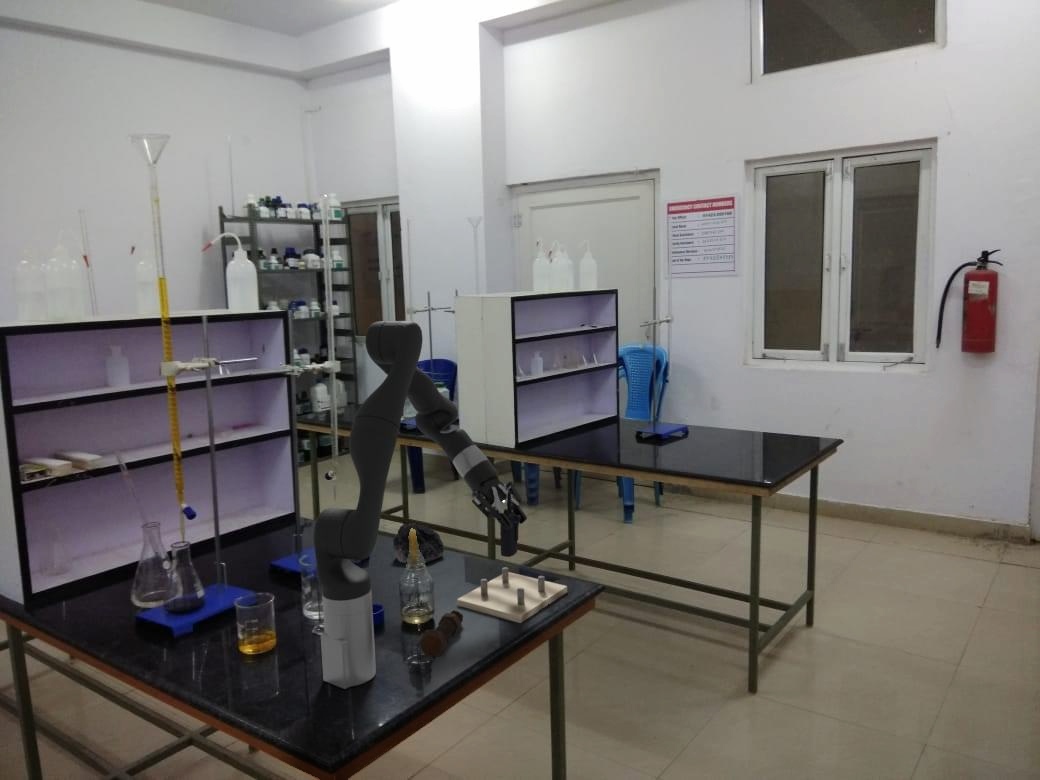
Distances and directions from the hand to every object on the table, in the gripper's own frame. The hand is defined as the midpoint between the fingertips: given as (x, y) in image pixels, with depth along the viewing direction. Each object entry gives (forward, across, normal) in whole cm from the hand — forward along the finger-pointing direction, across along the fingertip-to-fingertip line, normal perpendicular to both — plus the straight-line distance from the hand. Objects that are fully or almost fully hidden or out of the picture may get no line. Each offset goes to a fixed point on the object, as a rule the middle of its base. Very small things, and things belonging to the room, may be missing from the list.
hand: (516, 524), depth 180 cm
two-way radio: (+4, 0, +7) cm, 8 cm away
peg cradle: (+12, 0, +14) cm, 19 cm away
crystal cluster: (-15, +9, +42) cm, 46 cm away
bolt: (+12, -25, +15) cm, 31 cm away
